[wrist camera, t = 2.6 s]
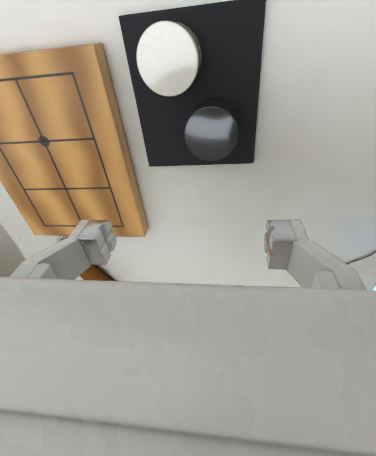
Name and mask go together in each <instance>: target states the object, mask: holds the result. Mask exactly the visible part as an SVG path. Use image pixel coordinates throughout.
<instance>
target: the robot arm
mask: <svg viewBox="0 0 376 456" xmlns="http://www.w3.org/2000/svg"><path fill="white" fill-rule="evenodd" d="M111 228H112V224H111V222H110V221H109V220H81V221H80V222H79V223H78V224H77V226H76V227H75V228H74V230H73V231H72V233H71V234H70V235H69V237H68V238H67V239H63V240H61V241H59V242H57V243H56V244H54V245H52V246H50V247H49V248H47V249H45V250H43V251H41V252H40V253H38V254H36V255H34V256H32V257H31V258H29V259H27V260H25V261H23V262H22V263H21V264H20V265H19V267H18V268H17V269H16V270H15V271H14V272H13V274H12V275H11V276H10V277H0V456H376V253H374V254H373V255H371V256H369V257H366V258H364V259H361V260H358V261H355V262H352V263H349V264H346V263H344V262H343V261H341V260H340V259H338V258H337V257H335V256H334V255H332V254H331V253H330V252H328V251H327V250H325V249H324V248H322V247H321V246H319V245H318V244H316V243H315V242H313V241H309V238H308V236H307V234H306V231H305V229H304V226H303V224H302V221H301V220H300V219H290V220H267V224H266V229H267V232H266V233H265V238H264V246H265V252H266V253H267V264H268V269H286V270H287V271H288V272H289V273H290V274H291V275H292V276H293V278H294V279H295V280H296V281H297V282H298V283H299V284H300V285H301V286H302V287H303V288H299V287H269V286H240V285H212V284H184V283H154V282H126V281H97V280H75V279H76V278H77V277H78V276H79V275H81V274H82V273H83V272H84V271H85V270H86V269H88V268H89V267H90V266H91V265H106V264H107V262H108V260H109V258H110V256H111V255H110V252H111V251H112V250H114V248H115V246H116V235H115V233H114V232H113V231H112V230H111Z"/></svg>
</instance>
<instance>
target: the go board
mask: <svg viewBox="0 0 376 456" xmlns="http://www.w3.org/2000/svg"><path fill="white" fill-rule="evenodd" d="M0 181H1V183H2V184H3V186H4V187H5V189H6V191H7V192H8V194H9V195H10V197H11V198H12V200H13V202H14V203H15V205H16V206H17V208H18V210H19V211H20V213H21V214H22V216H23V217H24V219H25V221H26V222H27V224H28V225H29V227H30V229H31V230H32V232H33V233H34V235H62V236H69V235H70V234H71V233H72V231H73V230H74V228H75V227H76V226H77V224H78V223H79V222H80V221H81V220H109V221H110V222H111V224H112V228H111V230H112V231H113V232H114V233H115V235H116V236H125V237H145V235H146V233H147V230H148V225H147V221H146V217H145V213H144V209H143V205H142V201H141V197H140V193H139V189H138V185H137V181H136V177H135V173H134V169H133V165H132V161H131V157H130V153H129V149H128V145H127V141H126V137H125V133H124V129H123V125H122V121H121V117H120V113H119V109H118V105H117V101H116V97H115V93H114V89H113V85H112V81H111V77H110V73H109V69H108V65H107V61H106V57H105V53H104V49H103V45H102V43H96V44H88V45H79V46H71V47H62V48H54V49H45V50H37V51H28V52H20V53H12V54H3V55H0Z"/></svg>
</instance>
